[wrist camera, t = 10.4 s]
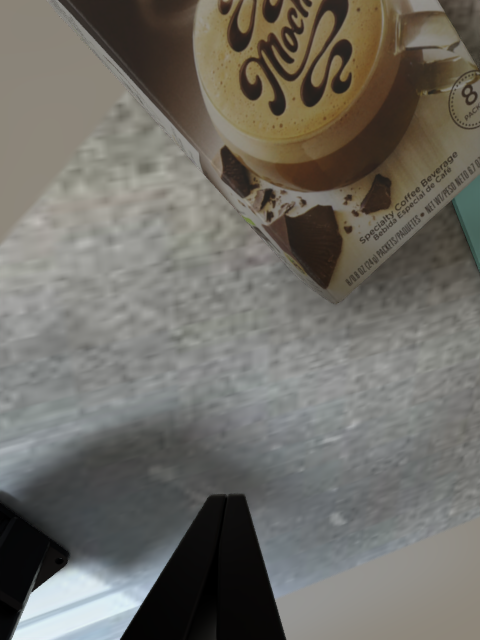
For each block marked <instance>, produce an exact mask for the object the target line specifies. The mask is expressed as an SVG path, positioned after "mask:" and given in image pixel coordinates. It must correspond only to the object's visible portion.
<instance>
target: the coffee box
mask: <svg viewBox="0 0 480 640" xmlns="http://www.w3.org/2000/svg"><path fill="white" fill-rule="evenodd" d="M47 1H48V2H49V4H50V5H51V6H52V7H53V9H54V10H55V12H56V13H57V14H58V15H59V16H60V17H61V18H62V19H63V20H64V21H65V22H66V23H67V24H68V26H69V27H70V28H71V29H72V30H73V31H74V32H75V33H76V34H77V35H78V36H79V37H80V39H81V40H82V41H83V42H84V43H85V44H86V45H87V46H88V47H89V48H90V49H91V50H92V51H93V53H95V55H96V56H97V57H98V58H99V59H100V60H101V61H102V63H103V64H104V65H105V66H106V67H107V68H108V69H109V70H110V71H111V72H112V73H113V74H114V76H115V77H116V78H117V79H118V80H119V81H120V82H121V83H122V84H123V86H124V87H125V88H126V89H127V90H128V91H129V92H130V93H131V94H132V96H133V97H134V98H135V99H136V100H137V101H138V102H139V103H140V104H141V105H142V107H143V108H144V109H145V110H146V111H147V112H148V113H149V114H150V115H151V116H152V118H153V119H154V120H155V121H156V122H157V123H158V124H159V125H160V126H161V128H162V129H163V130H164V131H165V132H166V133H167V134H168V135H169V136H170V137H171V138H172V140H173V141H174V142H175V143H176V144H177V145H178V146H179V147H180V148H181V149H182V151H183V152H184V153H185V154H186V155H187V156H188V157H189V158H190V159H191V160H192V162H193V163H194V164H195V165H196V166H197V167H198V168H199V169H200V170H201V172H202V173H203V174H204V175H205V176H206V177H207V178H208V179H209V180H210V182H211V183H212V184H213V185H214V186H215V187H216V188H217V189H218V190H219V192H220V193H221V194H222V195H223V196H224V197H225V198H226V199H227V200H228V201H229V203H230V204H231V205H232V206H233V207H234V208H235V209H236V210H237V211H238V213H239V214H240V215H241V216H242V217H243V218H244V219H245V220H246V222H247V223H248V224H249V225H250V226H251V227H252V228H253V229H254V230H255V232H256V233H257V234H258V235H259V236H260V237H261V238H262V239H263V240H264V241H265V243H266V244H267V245H268V246H269V247H270V248H271V249H272V250H273V251H274V252H275V253H276V254H277V256H278V257H279V258H280V259H281V260H282V261H283V262H284V263H285V264H286V265H287V267H288V268H289V269H290V270H291V271H292V272H293V273H294V274H295V275H296V277H298V278H299V279H300V280H301V281H303V282H304V283H305V284H306V285H308V286H309V287H310V288H312V289H313V290H314V291H315V292H317V293H318V294H319V295H321V296H322V297H324V298H325V299H327V300H328V301H330V302H331V303H333V304H337V303H339V302H341V301H342V300H344V299H345V298H346V297H347V296H348V295H349V294H350V293H351V292H352V291H353V290H354V289H355V288H356V287H358V286H359V285H360V284H361V283H362V282H363V281H364V280H365V279H366V278H367V277H368V276H369V275H371V274H372V273H373V272H374V271H375V270H376V269H377V268H378V267H379V266H380V265H381V264H383V263H384V262H385V261H386V260H387V259H388V258H389V257H390V256H391V255H392V254H393V253H395V252H396V251H397V250H398V249H399V248H400V247H401V246H402V245H403V244H404V243H405V242H407V241H408V240H409V239H410V238H411V237H412V236H413V235H414V234H415V233H416V232H417V231H419V230H420V229H421V228H422V227H423V226H424V225H425V224H426V223H427V222H428V221H429V220H431V219H432V218H433V217H434V216H435V215H436V214H437V213H438V212H439V211H440V210H441V209H442V208H444V207H445V206H446V205H447V204H448V203H449V202H450V201H451V200H452V199H453V198H454V197H456V196H457V195H458V194H459V193H460V192H461V191H462V190H463V189H464V188H465V187H466V186H468V185H469V184H470V183H471V182H472V181H473V180H474V179H475V178H476V177H477V176H478V175H479V174H480V71H479V69H478V67H477V65H476V64H475V62H474V60H473V59H472V57H471V55H470V53H469V52H468V50H467V48H466V46H465V45H464V43H463V42H462V40H461V39H460V37H459V35H458V33H457V31H456V30H455V28H454V27H453V25H452V23H451V22H450V20H449V19H448V17H447V15H446V13H445V11H444V9H443V8H442V6H441V5H440V3H439V1H438V0H47Z"/></svg>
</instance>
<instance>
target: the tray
mask: <svg viewBox="0 0 480 640" xmlns="http://www.w3.org/2000/svg"><path fill="white" fill-rule="evenodd" d="M452 203H453V205H454V208H455V210H456V213H457V215H458V218H459V221H460V223H461V226H462V228H463V231H464V233H465V236H466V239H467V241H468V244H469V246H470V249H471V251H472V254H473V257H474V259H475V262H476V264H477V267H478V269H479V272H480V174H479V175H478V176H477V177H476V178H475V179H474V180H473V181H472V182H471V183H470V184H469V185H468V186H466V187H465V188H464V189H463V190H462V191H461V192H460V193H459V194H458V195H457V196H456V197H454V198H453V199H452Z"/></svg>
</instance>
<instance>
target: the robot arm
mask: <svg viewBox="0 0 480 640" xmlns="http://www.w3.org/2000/svg"><path fill="white" fill-rule="evenodd" d="M69 557H70V554H69V552H68V551H67V550H65V549H64V548H62V547H61V546H60V545H58V544H57V543H55V542H54V541H53V540H51V539H50V538H49V537H47V536H46V535H44V534H43V533H42V532H40V531H39V530H37V529H36V528H35V527H33V526H32V525H30V524H29V523H28V522H26V521H25V520H23V519H22V518H21V517H19V516H18V515H16V514H15V513H14V512H12V511H11V510H9V509H8V508H7V507H5V506H4V505H2V504H1V503H0V640H11V639H12V637H13V635H14V632H15V630H16V627H17V625H18V623H19V620H20V618H21V615H22V613H23V611H24V608H25V606H26V603H27V601H28V599H29V596H30V594H31V592H33V591H34V590H35V589H37V588H38V587H39V586H40V585H42V584H43V583H44V582H45V581H47V580H48V579H49V578H50V577H52V576H53V575H54V574H55V573H57V572H58V571H59V570H60V569H62V568H63V567H64V566H66V564H67V563H68V560H69ZM60 558H62V559H60ZM120 640H286V637H285V633H284V630H283V627H282V623H281V619H280V616H279V613H278V609H277V605H276V602H275V598H274V595H273V591H272V588H271V584H270V581H269V577H268V574H267V570H266V567H265V563H264V560H263V556H262V553H261V549H260V546H259V542H258V539H257V535H256V532H255V528H254V525H253V521H252V518H251V514H250V511H249V507H248V504H247V500H246V497H245V495H244V494H229V495H228V496H227V495H226V494H212V495H210V496H209V497H208V498H207V500H206V502H205V503H204V505H203V506H202V508H201V510H200V511H199V513H198V515H197V516H196V518H195V519H194V521H193V523H192V524H191V526H190V527H189V529H188V531H187V532H186V534H185V535H184V537H183V539H182V540H181V542H180V543H179V545H178V547H177V548H176V550H175V552H174V553H173V555H172V556H171V558H170V560H169V561H168V563H167V564H166V566H165V568H164V569H163V571H162V572H161V574H160V576H159V577H158V579H157V581H156V582H155V584H154V585H153V587H152V589H151V590H150V592H149V593H148V595H147V597H146V598H145V600H144V601H143V603H142V605H141V606H140V608H139V610H138V611H137V613H136V614H135V616H134V618H133V619H132V621H131V622H130V624H129V626H128V627H127V629H126V630H125V632H124V634H123V635H122V637H121V639H120Z"/></svg>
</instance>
